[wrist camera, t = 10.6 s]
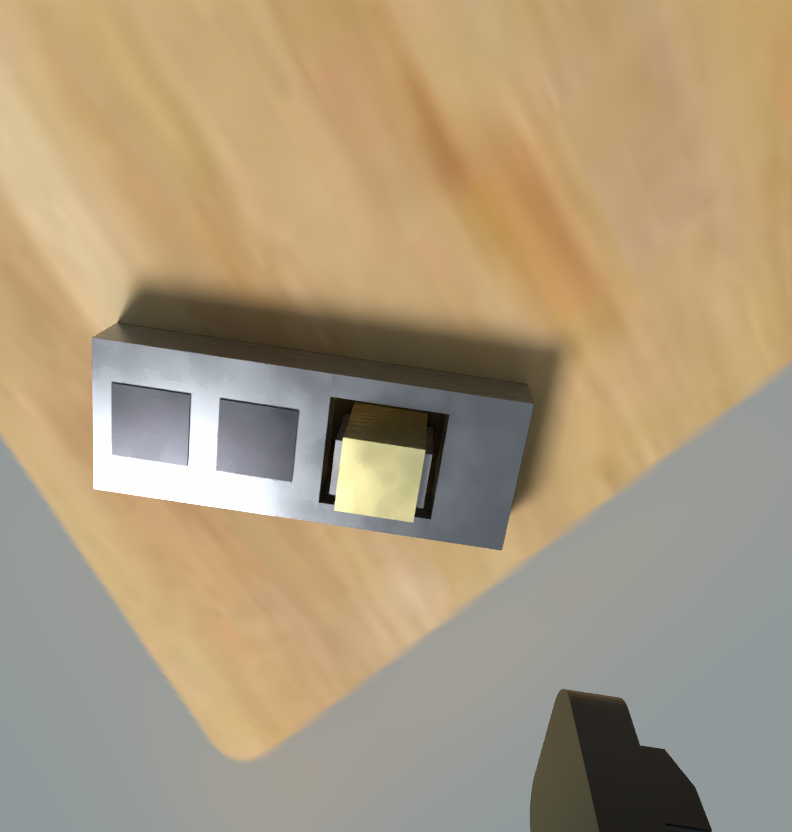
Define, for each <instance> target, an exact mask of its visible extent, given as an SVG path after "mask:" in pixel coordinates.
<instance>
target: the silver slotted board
mask: <svg viewBox="0 0 792 832" xmlns="http://www.w3.org/2000/svg"><path fill="white" fill-rule="evenodd" d="M92 382H93V463H94V489H99V490H105V491H112V492H119V493H125V494H132V495H139V496H145V497H152V498H158V499H165V500H172V501H178V502H185V503H192V504H198V505H205V506H211V507H218V508H225V509H231V510H238V511H245V512H251V513H258V514H264V515H271V516H278V517H284V518H291V519H298V520H304V521H311V522H317V523H324V524H331V525H337V526H344V527H351V528H357V529H364V530H370V531H377V532H384V533H390V534H397V535H403V536H410V537H417V538H423V539H430V540H437V541H443V542H450V543H456V544H463V545H470V546H476V547H483V548H490V549H496V550H502V547H503V543H504V538H505V534H506V529H507V525H508V520H509V515H510V511H511V506H512V502H513V497H514V493H515V488H516V484H517V479H518V475H519V470H520V466H521V461H522V457H523V452H524V448H525V443H526V439H527V434H528V429H529V425H530V420H531V416H532V411H533V407H534V402H533V399H532V396H531V393H530V390H529V387H528V385H527V384H521V383H514V382H507V381H501V380H494V379H487V378H481V377H474V376H467V375H461V374H454V373H447V372H441V371H434V370H427V369H421V368H414V367H407V366H401V365H394V364H387V363H381V362H374V361H367V360H361V359H354V358H347V357H341V356H334V355H327V354H321V353H314V352H307V351H301V350H294V349H287V348H281V347H274V346H267V345H261V344H254V343H247V342H241V341H234V340H227V339H221V338H214V337H208V336H201V335H194V334H188V333H181V332H174V331H168V330H161V329H154V328H148V327H141V326H134V325H128V324H121V323H116V324H114V325H112V326H111V327H109V328H107V329H106V330H104V331H102V332H101V333H99V334H97V335H96V336H94V337H92ZM336 397H337V398H343V399H350V400H357V401H363V402H370V403H377V404H383V405H390V406H397V407H403V408H410V409H417V410H423V411H430V412H437V413H443V414H446V415H445V420H444V426H443V432H442V437H441V443H440V449H439V455H438V460H437V466H436V472H435V477H434V483H433V489H432V493H426V494H425V500H424V506H423V508H417V507H416V509H415V515H414V521H413V523H412V522H406V521H399V520H393V519H386V518H380V517H373V516H367V515H360V514H353V513H347V512H340V511H334V507H335V499H336V495H332V494H329V492H330V483H331V478H327V470H328V461H329V453H330V444H331V435H332V427H333V418H334V410H335V401H336Z"/></svg>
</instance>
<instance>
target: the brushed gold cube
mask: <svg viewBox="0 0 792 832" xmlns="http://www.w3.org/2000/svg"><path fill="white" fill-rule="evenodd" d="M432 449H433V427H427V413H421V412H414V411H408V410H401V409H394V408H388V407H381V406H375V405H368V404H361V403H355V402H354V406H353V409H352V412H351V415H347V414H345V415H344V418H343V420H342V423H341V426H340V429H339V432H338V435H337V438H336V442H335V450H334V458H333V467H332V475H331V483H330V492H329V494H332V495H336V499H335V507H334V511H340V512H347V513H353V514H360V515H367V516H373V517H380V518H386V519H393V520H399V521H406V522H412V523H413V521H414V515H415V509H416V507H417V508H423V506H424V500H425V494H426V488H427V483H428V477H429V471H430V465H431V460H432Z"/></svg>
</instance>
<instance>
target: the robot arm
mask: <svg viewBox="0 0 792 832" xmlns="http://www.w3.org/2000/svg"><path fill="white" fill-rule="evenodd" d="M530 831H531V832H711V831H712V829H711V827H710V824H709V822H708V819H707V816H706V814H705V811H704V809H703V806H702V804H701V801H700V798H699V796H698V793H697V791H696V788H695V786H694V785H693V784H692V783H691V782H690V780H689V779H688V778H687V777H686V775H685V774H684V773H683V772H682V770H680V768H679V767H678V765H677V764H676V763H675V762H674V761H673V759H672V758H671V757H670V756H669V754H668V753H667V752H666V751H665V749H659V748H653V747H646V746H640V744H639V741H638V738H637V735H636V732H635V729H634V726H633V723H632V719H631V716H630V713H629V710H628V707H627V705H626V703H625V701H624V700H623V699H622V698H618V697H611V696H605V695H599V694H592V693H585V692H579V691H572V690H566V689H562V690H561V691H560V692H559V693H558V695H557V697H556V700H555V703H554V707H553V710H552V714H551V718H550V721H549V725H548V729H547V733H546V736H545V740H544V743H543V747H542V750H541V754H540V758H539V761H538V765H537V769H536V772H535V776H534V780H533V785H532V792H531V802H530Z"/></svg>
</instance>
